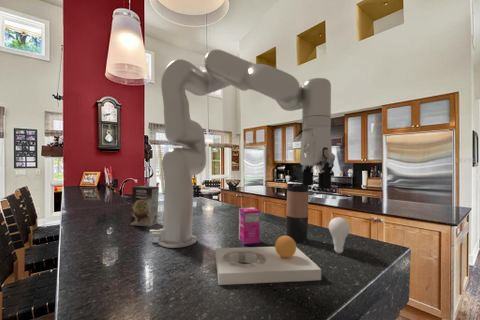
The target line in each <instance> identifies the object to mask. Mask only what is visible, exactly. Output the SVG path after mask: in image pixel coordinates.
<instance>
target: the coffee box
mask: <svg viewBox="0 0 480 320" xmlns="http://www.w3.org/2000/svg"><path fill="white" fill-rule="evenodd" d="M131 190H132V193H131V211H130V212H131V213H130V215H131V217H130V220H131V221H130V225H131V226H141V227H142V226H143V227H152V226H154V225H156V224H158V215H159V214H158V213H159V193H160V192H159V191H160V186H152V185H151V186H149V185H136V186H135V185H134V186H132V188H131Z"/></svg>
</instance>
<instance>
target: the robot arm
mask: <svg viewBox="0 0 480 320" xmlns="http://www.w3.org/2000/svg"><path fill="white" fill-rule="evenodd" d="M203 62H204V64H203V65H204V69H205V71H202V70H201V69H199V68H198V67H197V66H196V65H194V64H193V63H192V62H190V61H187V60H186V59H182V58H181V59H179V58H178V59H174V60H172V61H171V62H169V64H168V65H167V66H166V67H165V69H164V71H163V73H162V75H161V80H160V81H161V85H160V86H161V95H162V103H163V118H164V119H163V120H164V122H163V123H164V135H165V137H166V140H167V141H168V142H170V143H172V144H175V145H180V146H181V147H174V148H171V149H168V150H167V151H165V153H164V155H163V157H162V160H161V161H162V162H161V167H162V175H163V183H164V184H163V185H164V189H163V191H164V193H163V196H164V197H163V198H164V199H163V217H162V219H163V221H162V222H163V223H162V228H159V229H149V233H148V234H149V236H151V238H157V237H158V239H157V244H158V245H159V246H161V247H163V248H171V249H174V248H175V249H177V248H178V249H180V248H186V247H189V246H193V245H194V244H195V243H197V236H196V235H194V234H193V216H194V212H193V211H194V183H193V180H192V179H193V178H192V176H196V175H200V174H201V173H203V171H204V170H205V168H206V163H207V153H206V152H207V151H206V138H205V133H204V129H203V127H202V126H201V124H200V123H198V122H197V121H195V120H193V119H191V114H190V113H191V112H190V103H189V99H188V97H187V94H186V91H187V92H189V93H191V94H192V95H195V96H198V97H199V96H201V97H202V96H206V95H209V94H212V93H215V92H217V91H220V90H223V89H225V88H227V87H229V86H233V87H234V88H236V89H239V90H240V91H243V92H245V91H248V90H250V91H251V90H252V91H255V92H257V93H260V94H263V95H264V96H266V97H269V98H271V99H273V100H274V101H275V102H276V104H278V106H279V108H281V109H282V110H284V111H287V112H288V111H289V112H292V111H293V112H294V111H297V110H302V112H301V113H302V114H301V116H302V117H301V124H302V126H301V128H302V129H301V130H302V133H301V134H302V135H301V141H300V150H299V151H300V153H299V154H300V155H299V164H300V165H301V177H302V179H301V184H302V185H305V186H308V187H309V186H313V185H314V172H313V169H314V166H317V167H318V170H319V172H318V181H317V182H318V189H320V190H325V189H326V190H328V189H329V190H330V189H332V173H333V168H334V165H335V159H336V155H335V154H334V153H333V152H332V151H333V149H332V134H331V129H332V128H331V123H332V121H331V120H332V118H331V117H332V115H331V114H332V84H331V81H330V80H329V79H328V78H325V77H315V78H310V79H307V80H306V81H305V82H304V83H303V85H300V83H299V80H298V79H297V78H296V77H295V76H293V75H292V74H290V73H288V72H286V71H284V70H281V69H279V68H276V67H274V66H271V65H268V64H262V63H254V62H251V61H248V60H246V59H244V58H241V57H238V56H236V55H233V54H231V53H229V52H227V51H225V50H222V49H212V50H209V51H208V52H207V53H206V55H205V57H204V61H203Z"/></svg>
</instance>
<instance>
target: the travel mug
mask: <svg viewBox="0 0 480 320" xmlns="http://www.w3.org/2000/svg"><path fill="white" fill-rule="evenodd" d="M286 186H287V187H286V188H287V189H286V191H287V192H286V217H285V218H286V236H289V237H291V238H292V239H293V240H294V241H295V243H299V244H300V243H306V242H307V241H308V227H309V186H305V185H302V183H298V182H297V183H295V182H293V183H292V182H291V183H287V185H286Z"/></svg>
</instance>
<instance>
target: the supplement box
mask: <svg viewBox="0 0 480 320" xmlns="http://www.w3.org/2000/svg"><path fill="white" fill-rule="evenodd" d="M260 212H261V210H259V209H257V208H256V207H254V206H253V207H240V208H238V213H239V214H238V241H239V242H240V243H241V244H242V245H243V246H245V247H246V246H256V245H260V233H261V231H260V225H261V221H260V220H261V218H260V217H261V215H260V214H261V213H260Z"/></svg>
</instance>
